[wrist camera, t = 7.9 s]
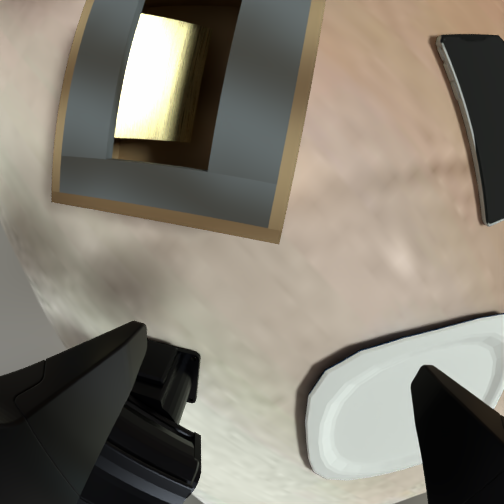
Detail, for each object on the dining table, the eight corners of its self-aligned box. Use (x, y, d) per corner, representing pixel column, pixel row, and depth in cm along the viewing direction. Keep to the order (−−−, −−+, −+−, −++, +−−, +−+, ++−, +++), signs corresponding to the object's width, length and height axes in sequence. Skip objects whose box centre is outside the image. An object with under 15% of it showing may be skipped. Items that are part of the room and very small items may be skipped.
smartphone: (485, 228, 18) (436, 35, 13) (477, 224, 19) (429, 39, 14) (541, 203, 16) (502, 35, 12) (532, 200, 17) (494, 38, 13)
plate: (528, 291, 20) (537, 299, 18) (470, 437, 28) (474, 444, 27) (296, 344, 23) (297, 357, 22) (309, 478, 32) (309, 487, 30)
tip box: (278, 210, 19) (278, 244, 13) (111, 182, 20) (50, 201, 13) (315, 15, 15) (331, -39, 8) (145, 4, 15) (99, -36, 8)
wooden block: (190, 142, 16) (101, 137, 13) (172, 139, 18) (96, 135, 15) (212, 29, 13) (128, 11, 10) (192, 40, 15) (118, 27, 12)
